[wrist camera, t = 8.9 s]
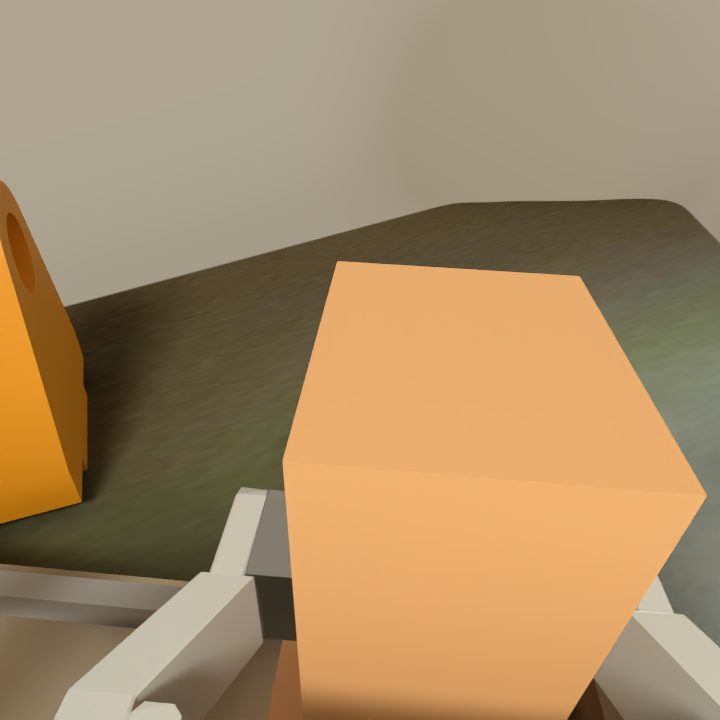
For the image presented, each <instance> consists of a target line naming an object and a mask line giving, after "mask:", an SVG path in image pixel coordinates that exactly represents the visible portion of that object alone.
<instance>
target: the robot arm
mask: <svg viewBox="0 0 720 720" xmlns="http://www.w3.org/2000/svg"><path fill="white" fill-rule="evenodd" d="M263 639H274V640H289V641H297V635H296V623H295V610H294V598H293V585H292V573H291V560H290V548H289V535H288V523H287V511H286V498H285V491H279V490H268V489H257V488H247V487H241V488H240V490H239V491H238V493H237V494H236V497H235V499H234V502H233V505H232V508H231V511H230V514H229V517H228V520H227V523H226V526H225V529H224V532H223V534H222V537H221V540H220V543H219V546H218V549H217V552H216V555H215V558H214V561H213V564H212V566H211V569H210V572H200V573H199V574H197V575H196V576H195V577H194V578H193V579H192V580H191V581H190V582H188V583H187V584H186V585H185V586H184V587H183V588H182V589H181V590H180V591H178V592H177V593H176V594H175V595H174V596H173V597H172V598H171V599H169V600H168V601H167V602H166V603H165V604H164V605H163V606H162V607H160V608H159V609H158V610H157V611H156V612H155V613H154V614H153V615H151V616H150V617H149V618H148V619H147V620H146V621H145V622H144V623H143V624H141V625H140V626H139V627H138V628H137V629H136V630H135V631H134V632H132V633H131V634H130V635H129V636H128V637H127V638H126V639H125V640H123V641H122V642H121V643H120V644H119V645H118V646H117V647H116V648H114V649H113V650H112V651H111V652H110V653H109V654H108V655H107V656H106V657H104V658H103V659H102V660H101V661H100V662H99V663H98V664H97V665H95V666H94V667H93V668H92V669H91V670H90V671H89V672H88V673H86V674H85V675H84V676H83V677H82V678H81V679H80V680H79V681H77V682H76V683H75V684H74V685H73V686H72V687H71V688H70V689H68V691H67V693H66V695H65V697H64V699H63V701H62V703H61V705H60V707H59V709H58V711H57V714H56V716H55V718H54V720H203V718H204V717H205V716H206V715H207V713H208V712H209V711H210V710H211V708H212V707H213V706H214V704H215V703H216V702H217V701H218V699H219V698H220V697H221V696H222V694H223V693H224V692H225V690H226V689H227V688H228V687H229V685H230V684H231V683H232V682H233V680H234V679H235V678H236V676H237V675H238V674H239V673H240V671H241V670H242V669H243V668H244V666H245V665H246V664H247V662H248V661H249V660H250V659H251V657H252V656H253V655H254V654H255V652H256V651H257V650H258V649H259V647H260V646H261V645H262V643H263ZM593 678H594V679H595V681H596V682H597V683H598V685H599V686H600V687H601V689H602V690H603V692H604V693H605V694H606V696H607V697H608V698H609V700H610V701H611V702H612V704H613V705H614V707H615V708H616V709H617V711H618V712H619V713H620V715H621V716H622V718H623V719H624V720H720V647H719V646H717V645H716V644H715V643H714V642H713V641H712V640H711V639H710V638H709V637H708V636H707V635H706V634H705V633H703V632H702V631H701V630H700V629H699V628H698V627H697V626H696V625H695V624H694V623H693V622H692V621H691V620H689V619H688V618H687V617H686V616H685V615H684V614H676V613H674V612H673V609H672V607H671V605H670V602H669V600H668V598H667V595H666V593H665V591H664V589H663V586H662V584H661V582H660V579H659V577H658V575H657V576H656V578H655V580H654V581H653V583H652V584H651V586H650V588H649V589H648V591H647V592H646V594H645V596H644V597H643V599H642V600H641V602H640V604H639V605H638V607H637V608H636V610H635V612H634V613H633V615H632V616H631V618H630V620H629V621H628V623H627V624H626V626H625V628H624V629H623V631H622V632H621V634H620V636H619V637H618V639H617V640H616V642H615V644H614V645H613V647H612V648H611V650H610V652H609V653H608V655H607V656H606V658H605V660H604V661H603V663H602V664H601V666H600V668H599V669H598V671H597V672H596V674H595V676H594V677H593Z"/></svg>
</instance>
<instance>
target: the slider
mask: <svg viewBox="0 0 720 720" xmlns="http://www.w3.org/2000/svg"><path fill="white" fill-rule="evenodd" d="M283 473H284V486H285V498H286V511H287V523H288V535H289V548H290V560H291V573H292V585H293V598H294V610H295V623H296V635H297V641H289V640H282V645H281V651H280V656H279V661H278V666H277V671H276V676H275V681H274V686H273V691H272V696H271V701H270V706H269V711H268V716H267V720H567V719H568V717H569V715H570V714H571V712H572V711H573V709H574V707H575V706H576V704H577V703H578V701H579V699H580V698H581V696H582V695H583V693H584V691H585V690H586V688H587V687H588V685H589V683H590V682H591V680H592V679H593V677H594V676H595V674H596V672H597V671H598V669H599V668H600V666H601V664H602V663H603V661H604V660H605V658H606V656H607V655H608V653H609V652H610V650H611V648H612V647H613V645H614V644H615V642H616V640H617V639H618V637H619V636H620V634H621V632H622V631H623V629H624V628H625V626H626V624H627V623H628V621H629V620H630V618H631V616H632V615H633V613H634V612H635V610H636V608H637V607H638V605H639V604H640V602H641V600H642V599H643V597H644V596H645V594H646V592H647V591H648V589H649V588H650V586H651V584H652V583H653V581H654V580H655V578H656V576H657V575H658V573H659V572H660V570H661V568H662V567H663V565H664V564H665V562H666V560H667V559H668V557H669V556H670V554H671V552H672V551H673V549H674V548H675V546H676V545H677V543H678V541H679V540H680V538H681V537H682V535H683V533H684V532H685V530H686V529H687V527H688V525H689V524H690V522H691V521H692V519H693V517H694V516H695V514H696V513H697V511H698V509H699V508H700V506H701V505H702V503H703V501H704V500H705V498H706V497H707V495H706V493H705V491H704V490H703V488H702V486H701V484H700V483H699V481H698V479H697V477H696V476H695V474H694V472H693V471H692V469H691V467H690V465H689V464H688V462H687V460H686V459H685V457H684V455H683V453H682V452H681V450H680V448H679V447H678V445H677V443H676V441H675V440H674V438H673V436H672V434H671V433H670V431H669V429H668V428H667V426H666V424H665V422H664V421H663V419H662V417H661V416H660V414H659V412H658V410H657V409H656V407H655V405H654V403H653V402H652V400H651V398H650V397H649V395H648V393H647V391H646V390H645V388H644V386H643V385H642V383H641V381H640V379H639V378H638V376H637V374H636V373H635V371H634V369H633V367H632V366H631V364H630V362H629V360H628V359H627V357H626V355H625V354H624V352H623V350H622V348H621V347H620V345H619V343H618V342H617V340H616V338H615V336H614V335H613V333H612V331H611V329H610V328H609V326H608V324H607V323H606V321H605V319H604V317H603V316H602V314H601V312H600V311H599V309H598V307H597V305H596V304H595V302H594V300H593V299H592V297H591V295H590V293H589V292H588V290H587V288H586V286H585V285H584V283H583V281H582V280H581V278H580V276H567V275H551V274H535V273H519V272H503V271H487V270H471V269H455V268H439V267H423V266H407V265H391V264H375V263H358V262H342V261H337V264H336V268H335V272H334V275H333V279H332V283H331V286H330V290H329V293H328V297H327V301H326V304H325V308H324V312H323V315H322V319H321V323H320V326H319V330H318V334H317V337H316V341H315V344H314V348H313V352H312V355H311V359H310V363H309V366H308V370H307V374H306V377H305V381H304V385H303V388H302V392H301V396H300V399H299V403H298V406H297V410H296V414H295V417H294V421H293V425H292V428H291V432H290V436H289V439H288V443H287V447H286V450H285V454H284V457H283Z"/></svg>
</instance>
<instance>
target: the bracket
mask: <svg viewBox="0 0 720 720" xmlns="http://www.w3.org/2000/svg"><path fill="white" fill-rule="evenodd" d="M83 362H84V358H83V355H82V352H81V349H80V346H79V343H78V340H77V337H76V334H75V331H74V328H73V326H72V324H71V322H70V320H69V317H68V315H67V313H66V311H65V308H64V306H63V304H62V302H61V300H60V298H59V295H58V293H57V291H56V288H55V286H54V284H53V282H52V280H51V277H50V275H49V273H48V271H47V268H46V266H45V264H44V262H43V260H42V257H41V255H40V253H39V251H38V248H37V246H36V244H35V242H34V239H33V237H32V235H31V233H30V231H29V228H28V226H27V224H26V222H25V220H24V217H23V215H22V213H21V211H20V208H19V206H18V204H17V202H16V201H15V198H14V196H13V194H12V193H11V191H10V190H9V188H8V187H7V186H6V185H5V183H3V182H2V181H0V524H1V523H5V522H9V521H12V520H16V519H20V518H24V517H27V516H31V515H35V514H39V513H42V512H46V511H50V510H54V509H57V508H61V507H65V506H69V505H72V504H76V503H80V502H82V471H86V470H87V394H86V391H85V388H84V385H83Z"/></svg>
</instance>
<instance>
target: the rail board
mask: <svg viewBox="0 0 720 720" xmlns="http://www.w3.org/2000/svg"><path fill="white" fill-rule="evenodd" d="M188 582H189V581H179V580H168V579H157V578H147V577H136V576H125V575H115V574H104V573H93V572H83V571H72V570H61V569H51V568H40V567H29V566H19V565H8V564H0V720H54V718H55V716H56V714H57V711H58V709H59V707H60V705H61V703H62V701H63V699H64V697H65V695H66V693H67V691H68V689H70V688H71V687H72V686H73V685H74V684H75V683H76V682H77V681H79V680H80V679H81V678H82V677H83V676H84V675H85V674H86V673H88V672H89V671H90V670H91V669H92V668H93V667H94V666H95V665H97V664H98V663H99V662H100V661H101V660H102V659H103V658H104V657H106V656H107V655H108V654H109V653H110V652H111V651H112V650H113V649H114V648H116V647H117V646H118V645H119V644H120V643H121V642H122V641H123V640H125V639H126V638H127V637H128V636H129V635H130V634H131V633H132V632H134V631H135V630H136V629H137V628H138V627H139V626H140V625H141V624H143V623H144V622H145V621H146V620H147V619H148V618H149V617H150V616H151V615H153V614H154V613H155V612H156V611H157V610H158V609H159V608H160V607H162V606H163V605H164V604H165V603H166V602H167V601H168V600H169V599H171V598H172V597H173V596H174V595H175V594H176V593H177V592H178V591H180V590H181V589H182V588H183V587H184V586H185V585H186V584H187V583H188ZM281 645H282V640H274V639H263V643H262V645H261V646H260V647H259V649H258V650H257V651H256V652H255V654H254V655H253V656H252V657H251V659H250V660H249V661H248V662H247V664H246V665H245V666H244V668H243V669H242V670H241V671H240V673H239V674H238V675H237V676H236V678H235V679H234V680H233V682H232V683H231V684H230V685H229V687H228V688H227V689H226V690H225V692H224V693H223V694H222V696H221V697H220V698H219V699H218V701H217V702H216V703H215V704H214V706H213V707H212V708H211V710H210V711H209V712H208V713H207V715H206V716H205V717H204V718H203V720H267V716H268V711H269V706H270V701H271V696H272V691H273V686H274V681H275V676H276V671H277V666H278V661H279V656H280V651H281ZM567 720H624V719H623V718H622V716H621V715H620V713H619V712H618V711H617V709H616V708H615V707H614V705H613V704H612V702H611V701H610V700H609V698H608V697H607V696H606V694H605V693H604V692H603V690H602V689H601V687H600V686H599V685H598V683H597V682H596V681H595V679H594V678H593V679H592V680H591V682H590V683H589V685H588V687H587V688H586V690H585V691H584V693H583V695H582V696H581V698H580V699H579V701H578V703H577V704H576V706H575V707H574V709H573V711H572V712H571V714H570V715H569V717H568V719H567Z"/></svg>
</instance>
